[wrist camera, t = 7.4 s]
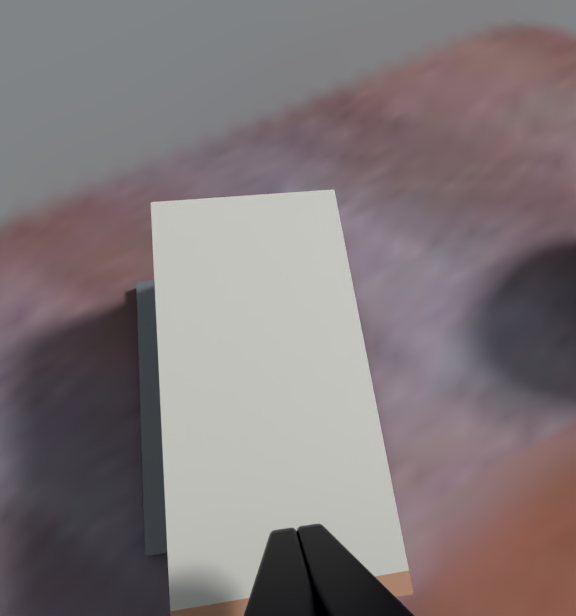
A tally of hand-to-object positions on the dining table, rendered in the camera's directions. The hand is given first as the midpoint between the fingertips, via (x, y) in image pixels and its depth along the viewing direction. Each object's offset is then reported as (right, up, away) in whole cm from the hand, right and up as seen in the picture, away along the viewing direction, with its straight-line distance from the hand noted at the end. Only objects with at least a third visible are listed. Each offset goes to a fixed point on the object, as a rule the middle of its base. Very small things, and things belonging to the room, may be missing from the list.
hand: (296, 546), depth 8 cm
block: (0, -3, +3) cm, 4 cm away
